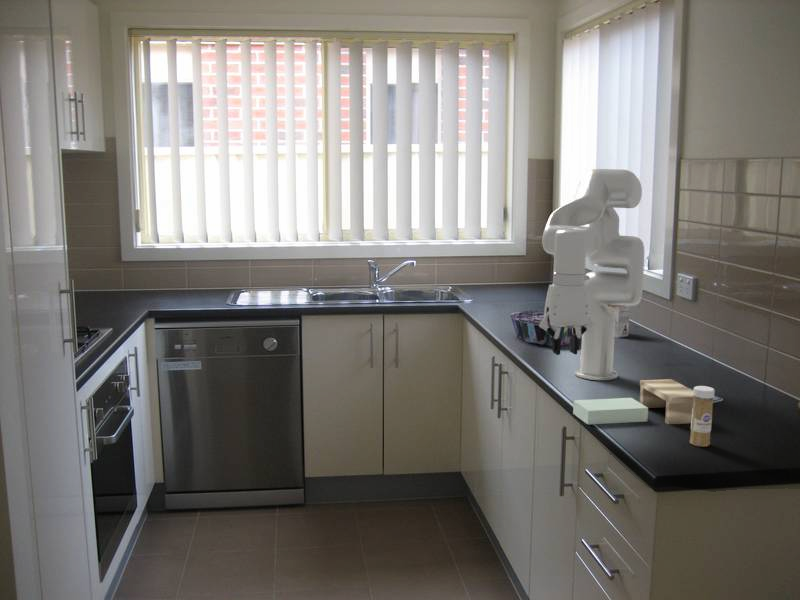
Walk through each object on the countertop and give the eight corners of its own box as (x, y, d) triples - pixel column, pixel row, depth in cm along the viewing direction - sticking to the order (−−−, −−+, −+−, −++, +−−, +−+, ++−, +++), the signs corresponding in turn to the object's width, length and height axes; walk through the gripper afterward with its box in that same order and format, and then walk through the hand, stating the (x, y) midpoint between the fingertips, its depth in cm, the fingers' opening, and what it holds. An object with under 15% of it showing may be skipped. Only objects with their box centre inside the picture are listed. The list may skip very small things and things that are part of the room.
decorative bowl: (561, 335, 321) (561, 309, 320) (600, 345, 295) (600, 317, 294) (499, 338, 313) (499, 311, 312) (534, 349, 287) (534, 320, 286)
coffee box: (598, 333, 316) (600, 290, 313) (610, 331, 319) (612, 289, 317) (617, 338, 308) (620, 294, 306) (629, 336, 312) (632, 293, 309)
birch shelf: (638, 405, 225) (640, 380, 224) (669, 404, 227) (671, 379, 226) (669, 424, 210) (671, 397, 209) (702, 423, 212) (704, 396, 210)
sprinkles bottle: (699, 448, 193) (703, 391, 191) (685, 442, 197) (689, 386, 195) (714, 445, 195) (719, 389, 193) (700, 439, 199) (704, 384, 197)
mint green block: (573, 413, 218) (573, 400, 217) (630, 410, 221) (631, 397, 220) (587, 424, 209) (588, 410, 208) (647, 421, 212) (648, 407, 212)
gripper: (594, 277, 212) (590, 348, 215) (530, 278, 208) (527, 351, 211) (607, 281, 204) (602, 355, 208) (541, 283, 201) (538, 358, 204)
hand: (564, 352), depth 209 cm, fingers open, 3 cm apart
